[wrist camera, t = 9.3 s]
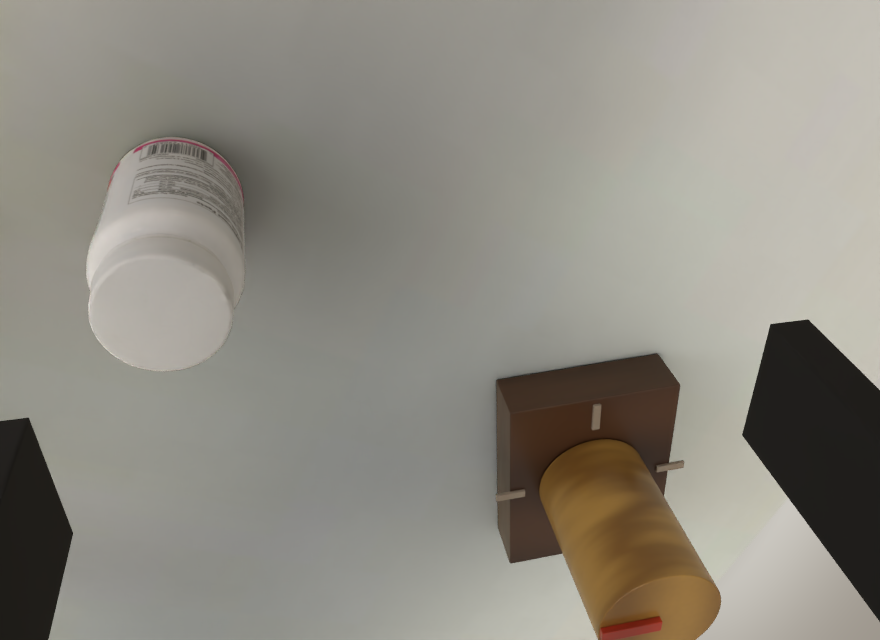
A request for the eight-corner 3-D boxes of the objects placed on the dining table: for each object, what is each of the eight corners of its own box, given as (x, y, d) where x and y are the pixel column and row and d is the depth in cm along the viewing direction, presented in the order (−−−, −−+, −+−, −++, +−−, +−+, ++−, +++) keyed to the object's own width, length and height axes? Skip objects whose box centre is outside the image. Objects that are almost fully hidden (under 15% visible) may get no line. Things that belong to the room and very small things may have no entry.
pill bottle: (183, 274, 32) (167, 410, 25) (81, 193, 30) (32, 319, 23) (271, 197, 31) (279, 316, 24) (173, 106, 29) (151, 210, 22)
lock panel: (651, 498, 45) (672, 535, 43) (484, 529, 44) (497, 569, 41) (672, 350, 39) (697, 384, 37) (481, 381, 38) (495, 418, 36)
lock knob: (647, 430, 38) (734, 570, 32) (637, 509, 41) (714, 652, 34) (540, 448, 38) (606, 596, 31) (537, 527, 40) (596, 678, 34)
